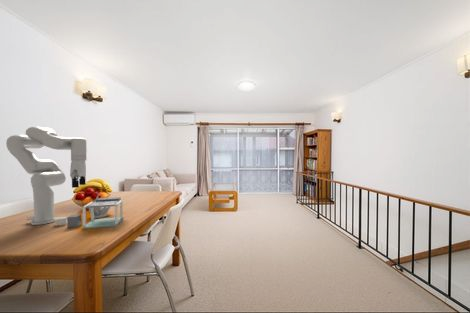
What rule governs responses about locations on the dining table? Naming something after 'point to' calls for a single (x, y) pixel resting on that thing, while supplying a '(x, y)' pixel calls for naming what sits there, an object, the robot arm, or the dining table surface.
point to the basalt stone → (74, 220)
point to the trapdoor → (105, 202)
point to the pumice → (61, 221)
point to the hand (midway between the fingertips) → (79, 186)
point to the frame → (102, 222)
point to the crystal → (100, 211)
